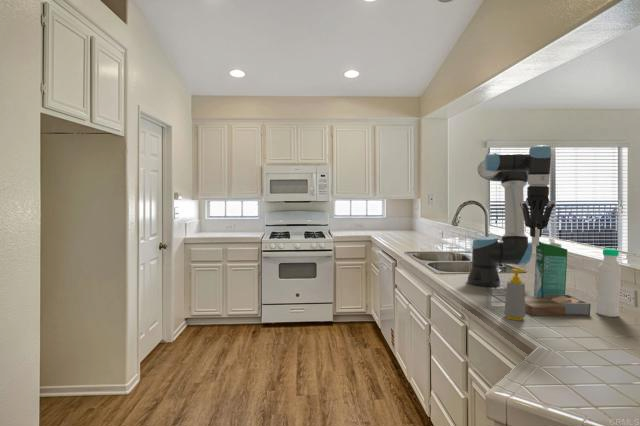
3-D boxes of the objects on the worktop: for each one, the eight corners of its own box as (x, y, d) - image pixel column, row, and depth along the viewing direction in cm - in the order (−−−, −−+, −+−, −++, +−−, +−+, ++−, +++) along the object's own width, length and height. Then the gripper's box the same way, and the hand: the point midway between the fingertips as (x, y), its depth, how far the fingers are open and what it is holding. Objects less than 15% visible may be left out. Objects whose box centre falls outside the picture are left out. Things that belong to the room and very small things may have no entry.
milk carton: (564, 303, 161) (567, 243, 159) (541, 302, 163) (543, 243, 161) (556, 297, 170) (559, 241, 168) (533, 296, 171) (536, 240, 170)
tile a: (551, 303, 154) (550, 299, 154) (564, 300, 154) (562, 295, 154) (559, 307, 149) (558, 302, 149) (572, 304, 149) (570, 299, 149)
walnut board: (513, 303, 160) (513, 296, 160) (542, 304, 160) (542, 296, 159) (532, 315, 145) (533, 307, 145) (564, 315, 145) (565, 307, 144)
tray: (543, 304, 159) (544, 294, 158) (568, 305, 159) (568, 294, 158) (563, 314, 146) (563, 303, 145) (589, 315, 146) (590, 303, 145)
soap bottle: (518, 322, 137) (520, 272, 136) (500, 316, 142) (502, 268, 141) (529, 319, 140) (531, 270, 139) (510, 313, 146) (512, 266, 145)
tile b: (571, 297, 154) (573, 301, 154) (559, 302, 154) (561, 306, 154) (579, 300, 149) (581, 305, 149) (567, 306, 149) (569, 310, 149)
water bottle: (612, 318, 142) (616, 251, 141) (591, 313, 149) (595, 248, 147) (622, 315, 146) (626, 249, 144) (601, 310, 152) (605, 247, 150)
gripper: (527, 185, 149) (523, 246, 151) (560, 185, 149) (557, 246, 151) (516, 185, 156) (514, 243, 158) (549, 185, 156) (545, 243, 158)
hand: (535, 244), depth 154 cm, fingers closed
